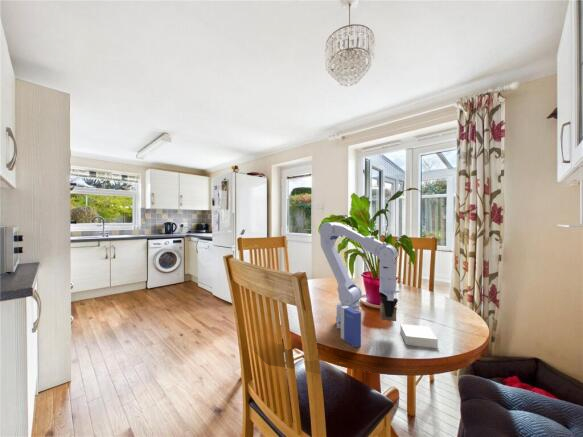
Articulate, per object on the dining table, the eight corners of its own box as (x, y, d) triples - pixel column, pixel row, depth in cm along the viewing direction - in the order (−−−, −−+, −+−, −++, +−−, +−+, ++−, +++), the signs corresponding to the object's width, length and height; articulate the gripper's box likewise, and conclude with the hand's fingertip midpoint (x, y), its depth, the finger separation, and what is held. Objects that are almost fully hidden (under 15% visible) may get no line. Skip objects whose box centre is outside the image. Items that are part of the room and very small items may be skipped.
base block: (406, 344, 86) (406, 336, 86) (400, 331, 96) (400, 324, 96) (437, 348, 84) (437, 339, 84) (428, 334, 94) (428, 326, 94)
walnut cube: (381, 319, 90) (381, 306, 90) (380, 314, 95) (380, 301, 95) (396, 321, 89) (396, 307, 89) (393, 315, 94) (393, 302, 94)
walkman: (361, 345, 85) (361, 311, 85) (354, 347, 84) (354, 312, 84) (346, 336, 92) (346, 304, 92) (340, 337, 91) (340, 305, 91)
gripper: (403, 283, 84) (403, 322, 84) (395, 274, 98) (395, 307, 98) (381, 282, 86) (381, 320, 86) (377, 273, 100) (377, 306, 100)
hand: (387, 313), depth 92 cm, fingers closed on walnut cube, 5 cm apart
